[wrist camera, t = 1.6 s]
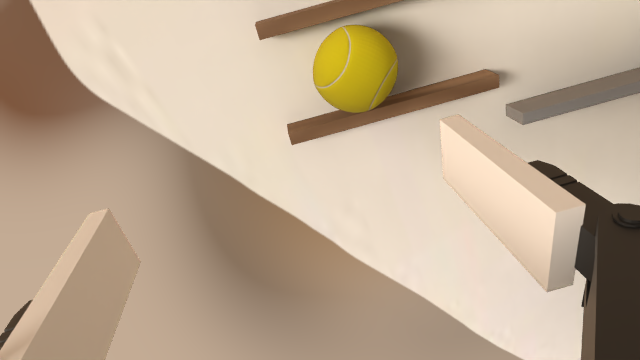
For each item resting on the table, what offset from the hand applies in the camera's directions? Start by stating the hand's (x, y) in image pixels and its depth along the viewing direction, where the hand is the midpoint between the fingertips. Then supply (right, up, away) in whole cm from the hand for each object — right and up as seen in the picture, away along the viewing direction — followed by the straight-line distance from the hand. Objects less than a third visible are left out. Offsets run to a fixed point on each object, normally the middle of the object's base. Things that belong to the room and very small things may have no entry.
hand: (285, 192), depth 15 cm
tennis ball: (+4, +11, +21) cm, 24 cm away
